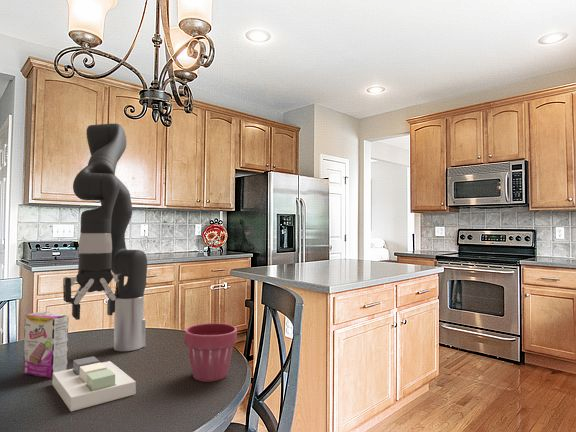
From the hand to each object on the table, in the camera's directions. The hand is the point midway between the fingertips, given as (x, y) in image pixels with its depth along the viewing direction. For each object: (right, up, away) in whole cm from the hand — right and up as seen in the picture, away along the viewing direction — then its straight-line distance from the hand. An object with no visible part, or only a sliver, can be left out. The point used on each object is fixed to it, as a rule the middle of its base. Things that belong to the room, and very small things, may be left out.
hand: (93, 316), depth 98 cm
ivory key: (0, -15, -1) cm, 15 cm away
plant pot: (+28, -19, +9) cm, 34 cm away
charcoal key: (-4, -16, +4) cm, 17 cm away
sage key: (+4, -15, -5) cm, 17 cm away
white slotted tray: (0, -18, -1) cm, 18 cm away
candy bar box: (-18, -19, +10) cm, 28 cm away
